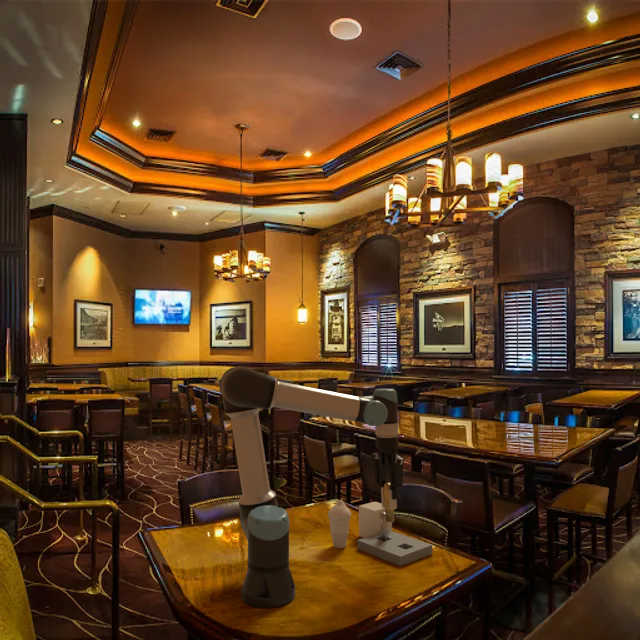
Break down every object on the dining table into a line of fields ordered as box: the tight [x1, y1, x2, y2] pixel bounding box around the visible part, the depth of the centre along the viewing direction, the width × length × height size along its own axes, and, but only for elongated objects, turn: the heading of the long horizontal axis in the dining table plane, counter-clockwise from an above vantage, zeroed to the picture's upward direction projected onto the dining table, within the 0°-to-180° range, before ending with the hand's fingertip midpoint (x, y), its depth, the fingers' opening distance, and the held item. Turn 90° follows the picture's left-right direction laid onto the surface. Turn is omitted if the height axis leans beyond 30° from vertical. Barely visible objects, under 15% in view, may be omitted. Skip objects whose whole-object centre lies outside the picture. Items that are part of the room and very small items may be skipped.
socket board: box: [356, 530, 434, 567], centre depth 184 cm, size 16×20×3 cm
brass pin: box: [384, 482, 395, 523], centre depth 176 cm, size 3×3×12 cm
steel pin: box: [379, 511, 388, 541], centre depth 188 cm, size 3×3×12 cm
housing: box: [358, 501, 393, 538], centre depth 200 cm, size 9×9×11 cm
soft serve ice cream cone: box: [327, 499, 352, 549], centre depth 190 cm, size 8×8×16 cm
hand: (389, 507), depth 176 cm, fingers closed on brass pin, 3 cm apart
